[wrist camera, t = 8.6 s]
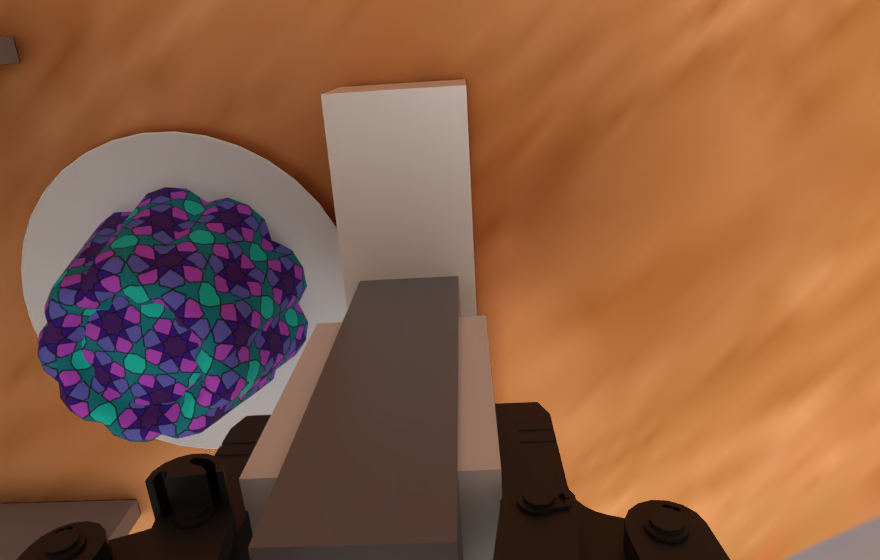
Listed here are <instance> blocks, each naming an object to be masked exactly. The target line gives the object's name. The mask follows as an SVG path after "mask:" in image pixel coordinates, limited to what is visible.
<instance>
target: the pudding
mask: <svg viewBox="0 0 880 560" xmlns="http://www.w3.org/2000/svg"><path fill="white" fill-rule="evenodd" d="M21 277H22V286H23V296H24V300H25V303H26V307H27V310H28V314H29V317H30V320H31V324H32V326H33V328H34V330H35V332H36V334H37V336H38V357H39V359H40V362H41V364H42V367H43V369H44V371H45V372H47V373H48V374H49V375H50V376H52V377H53V378H54V379H55V380H57V381H58V382H59V388H60V398H61V400H62V401H63V402H64V403H65V405H66V406H67V407H68V409H69V410H70V411H71V412H73V413H74V414H76V415H77V416H79V417H80V418H82V419H83V420H85V421H93V422H102V423H103V424H104V425H105V426H106V427H107V428H108V429H109V430H110V431H111V432H112V433H113V435H114V436H117V437H120V438H122V439H125V440H128V441H135V442H148V441H152V440H154V439H157V440H161V441H165V442H168V443H172V444H176V445H179V446H187V447H195V448H203V449H219V447H220V446H222V442H223V440H224V439H225V437H226V435H227V434H228V432H229V430H230V429H231V428H232V427H233V426H234V425H236V424H237V423H238V422H239V421H241V420H242V419H243V418H244V417H246V416H251V415H271V414H272V412H273V410H274V408H275V406H276V404H277V402H278V400H279V398H280V396H281V394H282V392H283V390H284V388H285V386H286V384H287V382H288V380H289V378H290V376H291V374H292V372H293V370H294V368H295V366H296V364H297V362H298V360H299V358H300V356H301V354H302V352H303V351H304V349H305V347H306V345H307V343H308V341H309V339H310V337H311V335H312V333H313V331H314V329H315V327H316V325H317V323H336V322H343V320H344V317H345V315H346V313H347V306H346V298H345V290H344V282H343V273H342V265H341V257H340V249H339V241H338V232H337V227H336V226H335V225H334V223H333V222H332V220H331V219H330V218H329V216H328V215H327V214H326V212H325V211H324V209H323V208H322V207H321V205H320V204H319V203H318V202H317V201H316V200H315V199H314V198H313V197H312V196H311V195H310V194H309V193H308V192H307V191H306V190H305V189H304V188H303V187H302V186H301V185H300V184H299V183H298V182H297V181H296V180H295V179H294V178H292V177H291V176H290V175H288V174H287V173H286V172H284V171H283V170H281V169H280V168H279V167H277V166H276V165H274V164H273V163H272V162H270V161H269V160H267V159H265V158H263V157H261V156H259V155H257V154H255V153H253V152H251V151H249V150H247V149H245V148H243V147H241V146H239V145H236V144H233V143H229V142H226V141H223V140H220V139H216V138H213V137H210V136H206V135H199V134H191V133H183V132H176V131H170V132H149V133H140V134H135V135H131V136H127V137H123V138H119V139H115V140H111V141H109V142H107V143H105V144H103V145H101V146H98V147H96V148H94V149H92V150H90V151H88V152H85V153H84V154H83V155H81V156H80V157H79V158H77V159H76V160H75V161H73V162H72V163H71V164H69V165H68V166H67V167H65V168H64V169H63V170H62V171H61V172H60V173H59V174H58V175H57V177H56V178H55V179H54V180H53V181H52V182H51V183H50V185H49V186H48V187H47V188H46V189H45V190H44V192H43V194H42V196H41V197H40V199H39V201H38V203H37V205H36V207H35V208H34V210H33V212H32V214H31V216H30V220H29V223H28V226H27V230H26V233H25V236H24V240H23V248H22V259H21Z"/></svg>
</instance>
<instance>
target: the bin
mask: <svg viewBox="0 0 880 560" xmlns="http://www.w3.org/2000/svg"><path fill="white" fill-rule="evenodd" d="M4 64H20V62H19V58H18V54H17V51H16V47H15V43H14V39H13V37H0V65H4ZM140 516H141V515H140V511H139V508H138V504H137V500H108V501H75V502H41V503H8V504H0V560H16V559H17V558H18V557H19V556H20V555H21V554H22V553H23V552H24V551H25V550H26V549H27V548H28V547H29V546H30V545H31V544H33V543H34V542H35V541H36V540H37V539H39V538H40V537H41V536H43V535H45V534H47V533H49V532H50V531H52V530H54V529H56V528H58V527H61V526H65V525H67V524H71V523H75V522H84V521H90V522H95V523H99V524H100V525H101V526H102V527H103V528H104V529H106V533H107V536H108V539H109V540H111V539H115V538H119V537H122V536H126V535H128V533H129V532H130V530H131V529H132V527H133V526H134V524H135V523H136V522H137V520H138V519H139V517H140Z"/></svg>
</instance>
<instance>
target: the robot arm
mask: <svg viewBox="0 0 880 560" xmlns="http://www.w3.org/2000/svg"><path fill="white" fill-rule="evenodd" d="M341 324H342V322H336V323H317V325H316V327H315V329H314V331H313V333H312V335H311V337H310V339H309V341H308V343H307V345H306V347H305V349H304V351H303V352H302V354H301V356H300V358H299V360H298V362H297V364H296V366H295V368H294V370H293V372H292V374H291V376H290V378H289V380H288V382H287V384H286V386H285V388H284V390H283V392H282V394H281V396H280V398H279V400H278V402H277V404H276V406H275V408H274V410H273V412H272V414H271V415H251V416H246V417H244V418H243V419H242V420H241V421H239V422H238V423H237V424H236V425H234V426H233V427H232V428H231V429H230V430H229V432H228V434H227V435H226V437H225V439H224V440H223V442H222V446H220V447H219V449H218V451H217V452H216V454H215V456H213V455H209V454H190V455H186V456H182V457H178V458H175V459H173V460H171V461H169V462H166V463H164V464H163V465H161V466H160V467H158V468H157V469H156V470H154V471H153V472H152V473H151V474H150V476H149V477H148V478H147V479H146V481H145V483H146V486H147V490H148V494H149V498H150V501H151V505H152V509H153V513H154V516H155V522H154V524H153V526H152V528H151V529H148V530H145V531H142V532H138V533H134V534H130V535H126V536H122V537H119V538H115V539H111V540H109V539H108V536H107V533H106V529H104V528H103V527H102V526H101V525H100V524H99V523H95V522H90V521H84V522H75V523H71V524H67V525H65V526H61V527H58V528H56V529H54V530H52V531H50V532H49V533H47V534H45V535H43V536H41V537H40V538H39V539H37V540H36V541H35V542H34V543H33V544H31V545H30V546H29V547H28V548H27V549H26V550H25V551H24V552H23V553H22V554H21V555H20V556H19V557H18V558H17V559H16V560H250V556H249V551H248V546H249V544H250V542H251V539H252V537H253V534H254V532H255V530H256V527H257V525H258V523H259V520H260V518H261V515H262V513H263V511H264V508H265V506H266V503H267V501H268V499H269V496H270V494H271V491H272V489H273V487H274V484H275V482H276V480H277V477H278V475H279V472H280V470H281V468H282V465H283V463H284V460H285V458H286V456H287V453H288V451H289V449H290V446H291V444H292V441H293V439H294V437H295V434H296V432H297V429H298V427H299V425H300V422H301V420H302V418H303V415H304V413H305V410H306V408H307V406H308V403H309V401H310V398H311V396H312V394H313V391H314V389H315V387H316V384H317V382H318V379H319V377H320V375H321V372H322V370H323V367H324V365H325V363H326V360H327V358H328V356H329V353H330V351H331V348H332V346H333V344H334V341H335V339H336V336H337V334H338V332H339V329H340V327H341ZM458 483H459V499H460V515H461V530H462V546H463V560H730V559H729V557H728V556H727V554H726V553H725V551H724V549H723V548H722V546H721V545H720V543H719V542H718V540H717V539H716V537H715V535H714V534H713V532H712V531H711V529H710V528H709V526H708V525H707V523H706V522H705V521H704V520H703V519H702V518H701V517H700V516H699V515H698V514H697V513H696V512H694V511H692V510H691V509H689V508H687V507H685V506H684V505H681V504H677V503H674V502H670V501H662V500H650V501H646V502H642V503H638V504H637V505H635V506H634V507H632V508H631V509H630V510H628V513H627V515H626V517H625V518H620V517H615V516H610V515H606V514H602V513H599V512H595V511H593V510H591V509H589V508H587V507H585V506H584V505H582V504H581V503H579V502H578V501H577V500H576V498H575V495H574V494H573V493H572V492H571V491H570V490H569V488H568V486H567V482H566V478H565V474H564V470H563V466H562V461H561V457H560V453H559V449H558V445H557V443H556V437H555V433H554V430H553V425H552V421H551V417H550V414H549V413H548V412H547V411H546V410H545V409H544V408H543V407H542V406H541V405H540V404H539V403H538V402H528V403H504V404H495V402H494V392H493V382H492V372H491V362H490V352H489V341H488V331H487V321H486V315H482V316H461V317H459V325H458Z"/></svg>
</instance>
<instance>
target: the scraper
mask: <svg viewBox="0 0 880 560" xmlns="http://www.w3.org/2000/svg"><path fill="white" fill-rule="evenodd" d="M321 101H322V110H323V118H324V126H325V134H326V142H327V151H328V159H329V167H330V175H331V183H332V192H333V200H334V208H335V216H336V224H337V232H338V241H339V249H340V257H341V265H342V273H343V282H344V290H345V298H346V306H347V313H346V315H345V317H344V320H343V322H342V324H341V327H340V329H339V332H338V334H337V336H336V339H335V341H334V344H333V346H332V348H331V351H330V353H329V356H328V358H327V360H326V363H325V365H324V367H323V370H322V372H321V375H320V377H319V379H318V382H317V384H316V387H315V389H314V391H313V394H312V396H311V398H310V401H309V403H308V406H307V408H306V410H305V413H304V415H303V418H302V420H301V422H300V425H299V427H298V429H297V432H296V434H295V437H294V439H293V441H292V444H291V446H290V449H289V451H288V453H287V456H286V458H285V460H284V463H283V465H282V468H281V470H280V472H279V475H278V477H277V480H276V482H275V484H274V487H273V489H272V491H271V494H270V496H269V499H268V501H267V503H266V506H265V508H264V511H263V513H262V515H261V518H260V520H259V523H258V525H257V527H256V530H255V532H254V534H253V537H252V539H251V542H250V544H249V546H248V551H249V556H250V560H463V546H462V530H461V515H460V499H459V483H458V325H459V317H461V316H477V307H476V285H475V264H474V242H473V221H472V199H471V178H470V156H469V135H468V113H467V92H466V80H465V79H458V80H442V81H427V82H411V83H396V84H380V85H364V86H349V87H339V88H336V89H333V90H331V91H328V92H325V93H323V94H321Z"/></svg>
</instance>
